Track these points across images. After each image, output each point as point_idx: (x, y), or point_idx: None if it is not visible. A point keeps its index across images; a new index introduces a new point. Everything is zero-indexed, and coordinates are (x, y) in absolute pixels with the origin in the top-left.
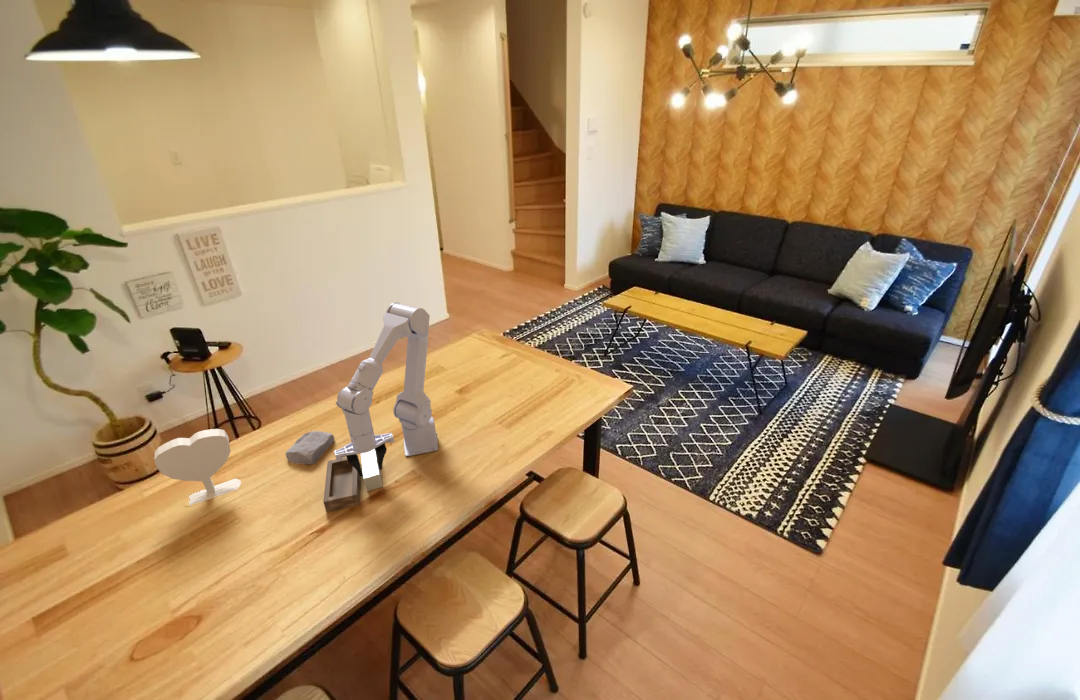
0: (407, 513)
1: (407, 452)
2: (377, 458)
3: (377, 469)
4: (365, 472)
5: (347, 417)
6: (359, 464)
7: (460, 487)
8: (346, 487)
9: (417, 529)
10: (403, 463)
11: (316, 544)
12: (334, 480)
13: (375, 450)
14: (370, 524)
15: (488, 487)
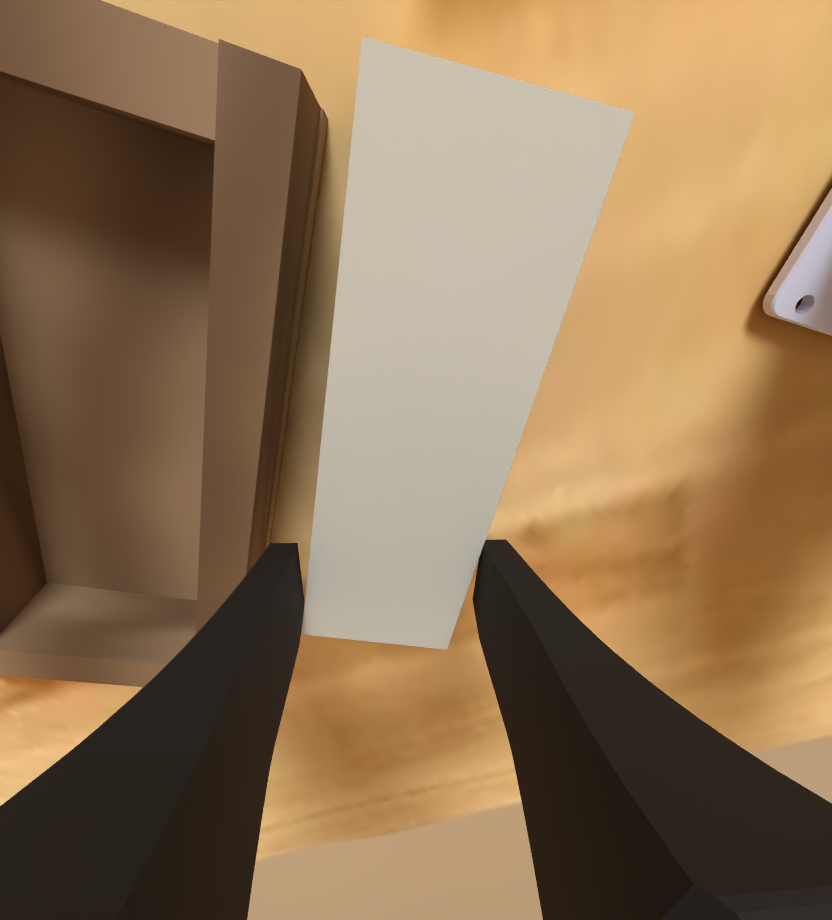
0: (474, 725)
1: (817, 272)
2: (520, 685)
3: (456, 596)
4: (336, 578)
5: None
6: (252, 864)
7: (749, 693)
8: (160, 473)
9: (472, 784)
10: (681, 380)
11: (27, 730)
12: (13, 313)
13: (578, 817)
14: (301, 721)
15: (821, 726)
